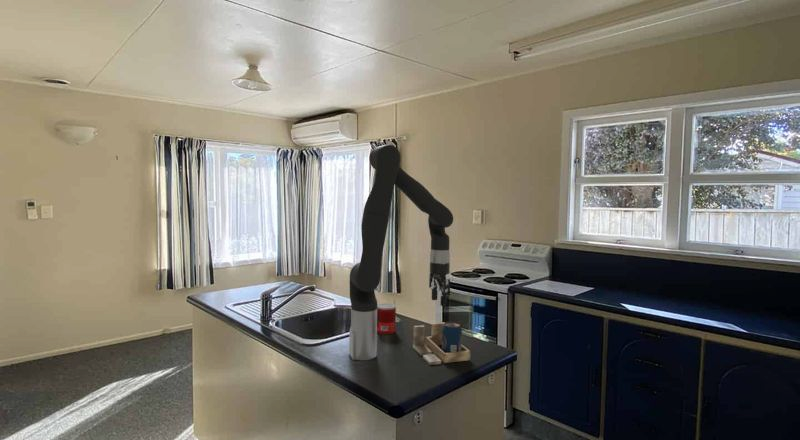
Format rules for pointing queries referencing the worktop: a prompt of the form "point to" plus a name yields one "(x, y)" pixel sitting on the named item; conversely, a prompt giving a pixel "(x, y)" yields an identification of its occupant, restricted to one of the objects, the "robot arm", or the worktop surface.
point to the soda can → (451, 337)
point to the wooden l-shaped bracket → (423, 346)
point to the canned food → (386, 318)
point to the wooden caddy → (436, 340)
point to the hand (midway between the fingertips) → (438, 302)
